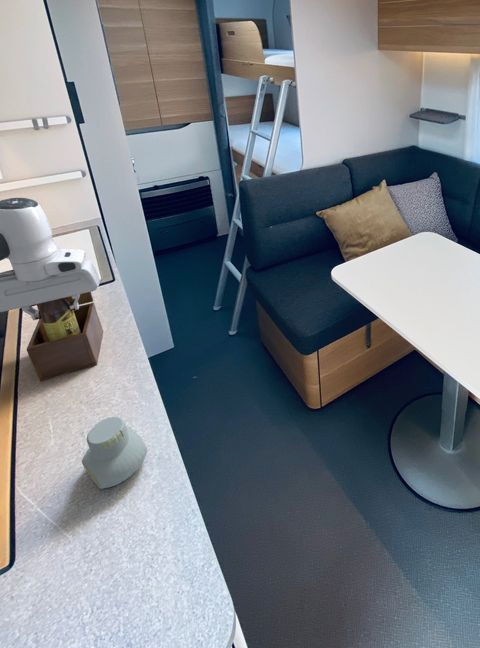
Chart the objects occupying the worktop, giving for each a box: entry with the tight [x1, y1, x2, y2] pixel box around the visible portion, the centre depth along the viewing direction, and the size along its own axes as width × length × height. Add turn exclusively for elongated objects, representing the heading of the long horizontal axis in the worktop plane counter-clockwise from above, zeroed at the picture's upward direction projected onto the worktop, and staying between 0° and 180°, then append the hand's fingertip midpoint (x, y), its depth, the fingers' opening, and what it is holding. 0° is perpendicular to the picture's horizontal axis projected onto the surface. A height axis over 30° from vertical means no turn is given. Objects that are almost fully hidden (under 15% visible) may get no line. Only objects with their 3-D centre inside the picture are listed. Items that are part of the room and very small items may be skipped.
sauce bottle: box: [40, 298, 81, 341], centre depth 100 cm, size 6×6×20 cm
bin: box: [25, 302, 104, 382], centre depth 103 cm, size 14×12×10 cm
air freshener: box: [81, 416, 148, 489], centre depth 76 cm, size 11×8×10 cm
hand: (57, 313), depth 100 cm, fingers closed on sauce bottle, 6 cm apart
